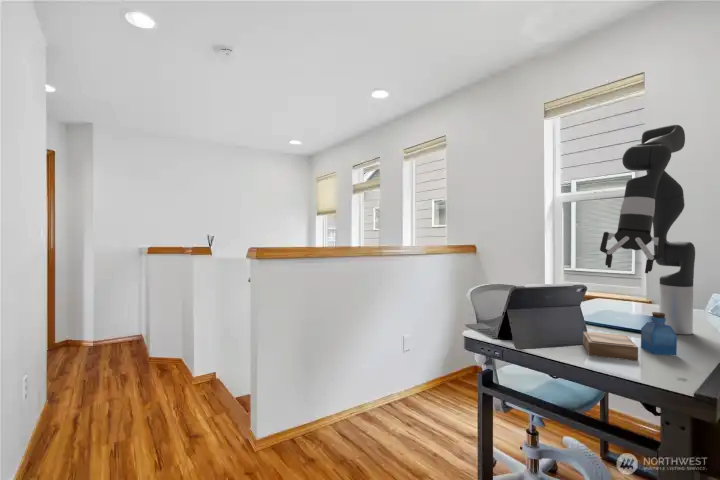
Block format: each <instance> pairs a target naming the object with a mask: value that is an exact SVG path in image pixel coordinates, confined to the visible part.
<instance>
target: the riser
mask: <svg viewBox="0 0 720 480" xmlns="http://www.w3.org/2000/svg"><path fill="white" fill-rule="evenodd" d="M582 345H583V347H584V348H585V350H586V352H587V354H588V356H593V357H601V358H608V357H609V359H617V358H619V359H620V360H625V359H628V360H627V361H636V362H639V346H638V345H637V344H636V343H635V342H633V340H632V339H630V338H629V336H628V335H625V334H615V333H605V332H604V333H603V332H594V331H593V332H592V331H582Z"/></svg>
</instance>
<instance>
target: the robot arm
mask: <svg viewBox="0 0 720 480" xmlns="http://www.w3.org/2000/svg"><path fill="white" fill-rule="evenodd" d="M685 144H686V134H685V130H684V128H683V126H681V125H679V124H671V125H667V126H666V125H665V126H662V127H656V128H651V129H647V130H645V131H644V132H642V134H641V138H640V143H639V144H634V145H631V146H630V147H628V148H627V149H626V150H625V152H624V153H623V156H622V164H623V167H624V168H625V169H626V170H629V171H634V172H635V171H636V172H637V171H646V174H645V175H642V176H637V177H633V178H630V179H628V180H627V181H626V185H625V190H624V191H625V192H624V196H623V200H622V203H621V208H620V211H619V213H620V214H619V219H618V225H617V231H616V232H615V233H612V232H608V231H604V232H603V235H602V239H601V241H600V242H601V243H600V246H599V251H600V252H602V253H603V254H605V255H606V256H605V262H604V263H605V266H607V268H608V269H611V268H612V262H613V255H614V253H615V252H616V251H618V250H619V249H621V248H622V249H624V250H633V251H640V250H641V251H642V253H643V254H644V255H645V256H646V258H647V259H646V263H645V270H644V274H649V272H650V273H651V271H653V266H654V261H655V262H656V264H657V265H658V266H661V267H662V266H663V267H676V268H677V267H678V268H679V270H678V271H676V272H673V273H671V274H666V275H662V276H660V277H659V310H658V311H659V313H664V314H665V318H666V321H665V324H667V325H669V326H671V328H672V329H673V331H674V332H675V333H676V335H686V336H687V335H693V333H694V332H693V331H694V327H693V326H694V279H695V278H694V277H695V274H694V273H695V261H696V260H695V259H696V247H695V245H694V243H692V242H690V241H671V240H670V241H668V239H667V236H668V232H669V231H670V229H671V227H672V226H673V224H674V223H675V222H676V221H677V219H678V218H679V217H680V215H682V212H683V211H684V209H685V196H684V195H685V194H684V189H683V187H682V186H681V184H680V182H678V181H677V180H676V179H675V178H674V177H672V176H671V175H670V174H669V173H668V172H667V171H666V168H667V166H668V165H669V164H670V161H671V158H672V154H674V153H676V152H677V153H678V152H680V151H681V150H682V149H683V148H684V147H685ZM652 228H653V236H652V235H651V234H652ZM612 238H614V239H615V240H616V242H617V243H616V244H614V245H613V246H612V247H611V248H610V249H607V245H608V241H610V240H612ZM651 242H653V253H651V251H650V249H649V248H648V247H647V246H648V244H650V243H651Z"/></svg>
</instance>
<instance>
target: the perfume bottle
mask: <svg viewBox="0 0 720 480" xmlns="http://www.w3.org/2000/svg"><path fill="white" fill-rule="evenodd" d="M651 313H652V315H651V316H650V317H651V318H650V319H651V320H652V321H647V322H645V324H643V326H641V329H640V348H641V349H642V350H644V351H646V352H648V353H650V354H651V355H658V356H659V355H661V356H677V355H678V354H677V353H678V351H677V350H678V348H677V347H678V342H677V341H678V339H677V338H678V336H677V335H678V334H676V333H675V332H674V331H673V329H672V328H671V326H669V325H667V324H665V321H666V318H665V314H664V313H659V312H657V311H653V312H651Z"/></svg>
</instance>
